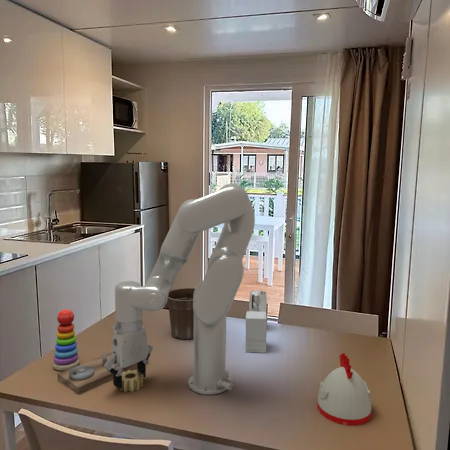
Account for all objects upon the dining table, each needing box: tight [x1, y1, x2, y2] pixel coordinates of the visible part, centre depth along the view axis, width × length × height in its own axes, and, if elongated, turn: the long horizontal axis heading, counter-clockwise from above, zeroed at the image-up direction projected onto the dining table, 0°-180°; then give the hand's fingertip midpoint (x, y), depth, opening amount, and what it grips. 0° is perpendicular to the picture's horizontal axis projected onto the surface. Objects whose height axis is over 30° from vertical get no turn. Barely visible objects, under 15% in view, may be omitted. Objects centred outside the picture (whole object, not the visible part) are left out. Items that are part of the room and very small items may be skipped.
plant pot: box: [166, 287, 196, 340], centre depth 159 cm, size 16×16×16 cm
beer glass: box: [248, 289, 268, 313], centre depth 164 cm, size 7×7×15 cm
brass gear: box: [118, 369, 144, 393], centre depth 121 cm, size 7×7×3 cm
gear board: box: [57, 351, 149, 395], centre depth 129 cm, size 12×25×6 cm, turn 140°
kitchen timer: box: [316, 352, 372, 426], centre depth 110 cm, size 14×14×15 cm
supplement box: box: [245, 310, 268, 354], centre depth 147 cm, size 7×7×13 cm
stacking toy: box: [52, 308, 80, 372], centre depth 132 cm, size 8×8×19 cm
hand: (130, 381), depth 121 cm, fingers open, 7 cm apart
